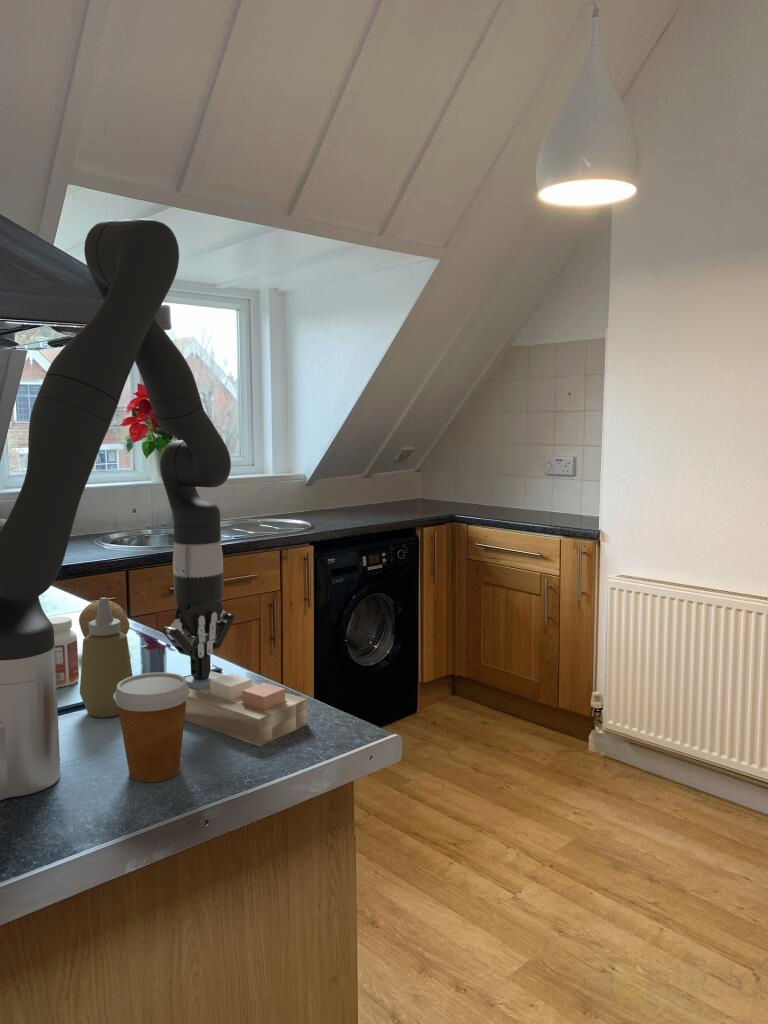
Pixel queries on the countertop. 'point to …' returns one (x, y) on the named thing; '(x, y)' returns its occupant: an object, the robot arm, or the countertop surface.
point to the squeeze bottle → (103, 663)
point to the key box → (245, 716)
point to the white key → (229, 686)
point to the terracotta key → (263, 696)
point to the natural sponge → (91, 613)
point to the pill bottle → (65, 651)
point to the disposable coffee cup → (152, 723)
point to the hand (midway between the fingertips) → (201, 678)
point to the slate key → (199, 682)
